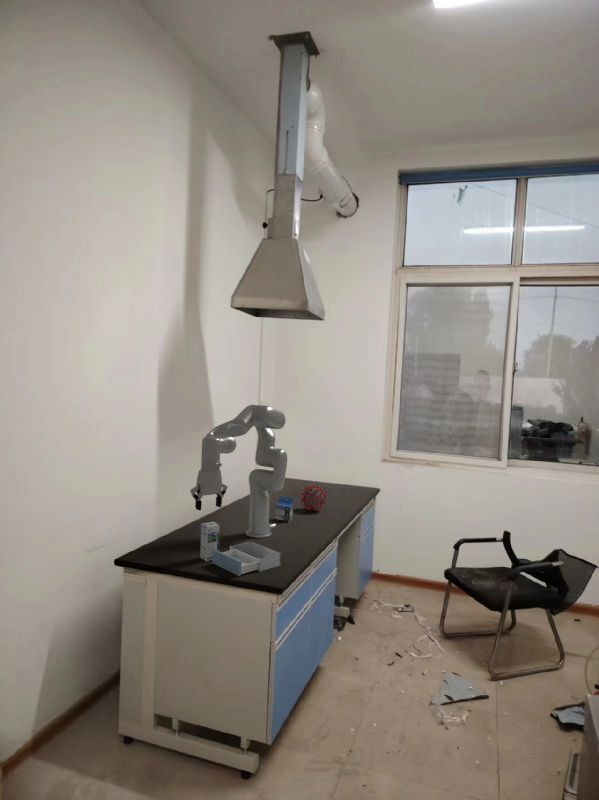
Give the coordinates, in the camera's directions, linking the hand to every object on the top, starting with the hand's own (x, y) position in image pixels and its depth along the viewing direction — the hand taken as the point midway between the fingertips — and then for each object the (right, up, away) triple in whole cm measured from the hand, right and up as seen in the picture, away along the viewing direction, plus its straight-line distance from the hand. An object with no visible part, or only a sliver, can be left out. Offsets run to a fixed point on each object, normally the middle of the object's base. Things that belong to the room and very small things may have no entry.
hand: (208, 508), depth 210 cm
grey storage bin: (+19, -22, -1) cm, 29 cm away
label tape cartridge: (+29, -20, +64) cm, 73 cm away
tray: (+13, -22, -7) cm, 26 cm away
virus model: (+45, -20, +87) cm, 100 cm away
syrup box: (0, -21, +1) cm, 21 cm away
